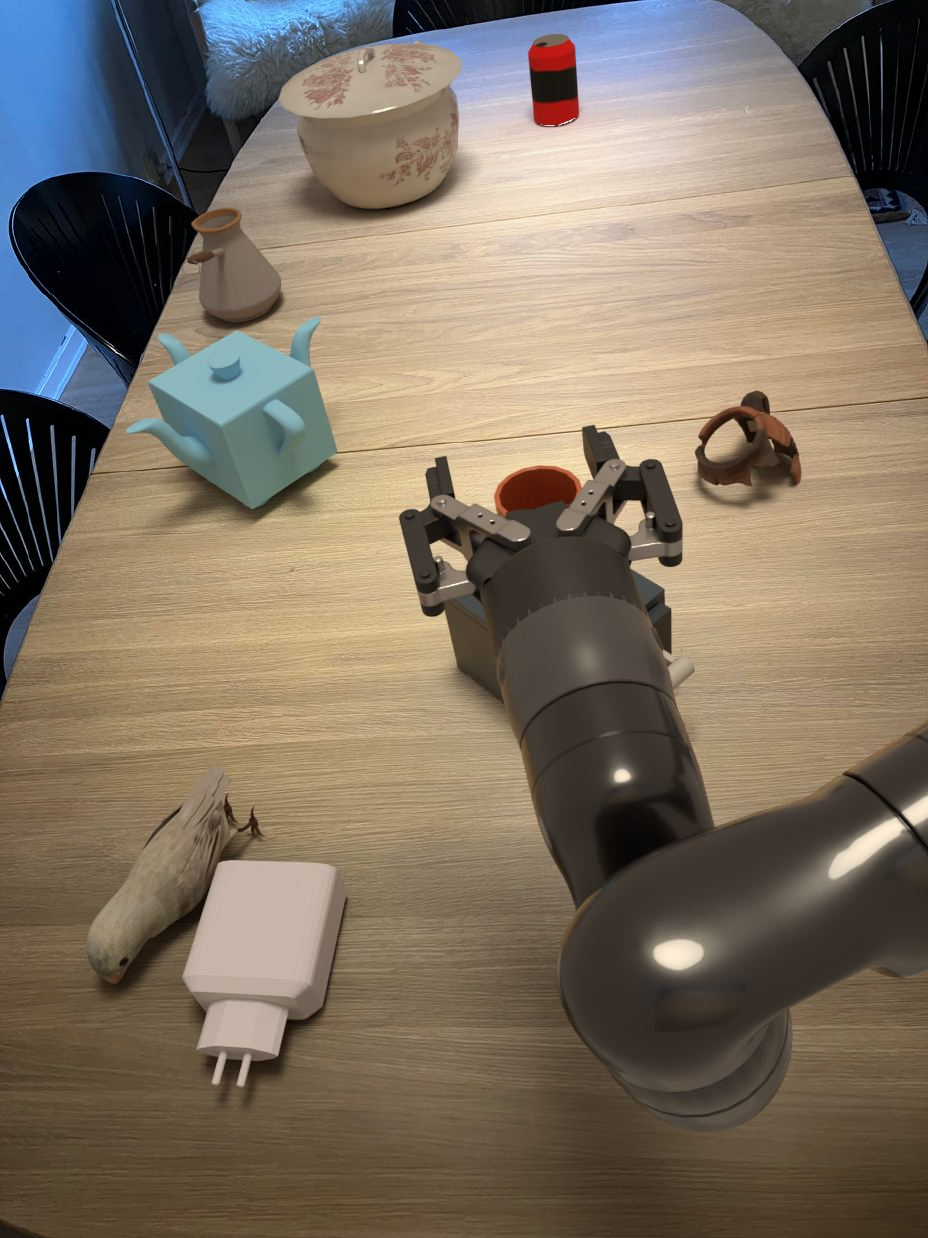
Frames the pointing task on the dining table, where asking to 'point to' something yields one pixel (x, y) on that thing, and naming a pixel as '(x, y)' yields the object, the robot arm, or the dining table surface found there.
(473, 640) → the cabinet
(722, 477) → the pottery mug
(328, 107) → the chamber pot
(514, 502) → the cup
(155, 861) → the decorative bird
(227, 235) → the coffee pot
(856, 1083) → the dining table surface
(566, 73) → the soda can
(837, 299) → the dining table surface
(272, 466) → the teakettle
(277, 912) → the charger
